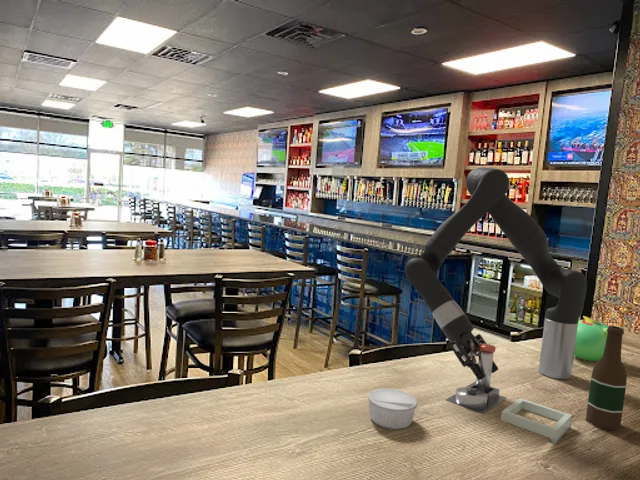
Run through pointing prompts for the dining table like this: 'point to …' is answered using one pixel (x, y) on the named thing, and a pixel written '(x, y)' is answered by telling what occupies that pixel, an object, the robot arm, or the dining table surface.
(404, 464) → the dining table surface
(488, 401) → the grey piece
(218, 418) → the dining table surface
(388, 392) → the ramekin
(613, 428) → the beer bottle
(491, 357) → the lock pin
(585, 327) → the green rounded piece
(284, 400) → the dining table surface
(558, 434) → the rectangular frame
